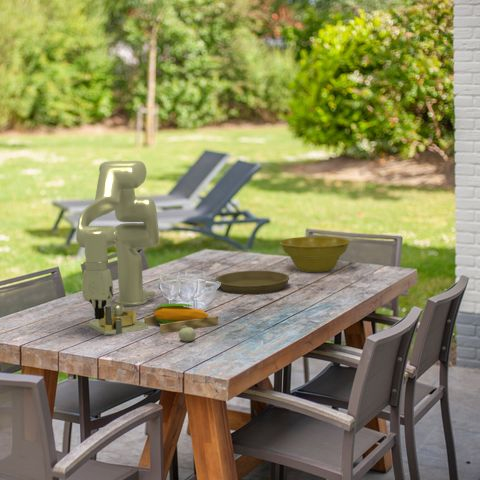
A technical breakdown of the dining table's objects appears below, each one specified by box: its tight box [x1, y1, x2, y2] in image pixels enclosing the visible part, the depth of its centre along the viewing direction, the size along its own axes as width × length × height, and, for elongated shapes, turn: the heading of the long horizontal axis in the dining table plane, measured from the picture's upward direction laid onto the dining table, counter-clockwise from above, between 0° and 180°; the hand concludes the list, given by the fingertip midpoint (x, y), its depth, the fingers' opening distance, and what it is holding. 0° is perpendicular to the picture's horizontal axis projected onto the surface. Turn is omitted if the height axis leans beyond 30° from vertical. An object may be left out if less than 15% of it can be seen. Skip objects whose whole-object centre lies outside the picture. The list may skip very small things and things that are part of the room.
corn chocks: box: [143, 308, 219, 335], centre depth 341 cm, size 22×14×3 cm, turn 119°
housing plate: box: [87, 303, 149, 336], centre depth 339 cm, size 16×17×8 cm
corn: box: [153, 302, 209, 324], centre depth 341 cm, size 7×8×20 cm
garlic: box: [178, 325, 197, 343], centre depth 319 cm, size 6×5×5 cm
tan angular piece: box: [98, 306, 137, 331], centre depth 337 cm, size 18×12×8 cm
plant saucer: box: [214, 270, 290, 295], centre depth 404 cm, size 31×31×5 cm
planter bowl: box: [278, 236, 351, 273], centre depth 439 cm, size 32×32×13 cm
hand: (99, 318), depth 330 cm, fingers closed
